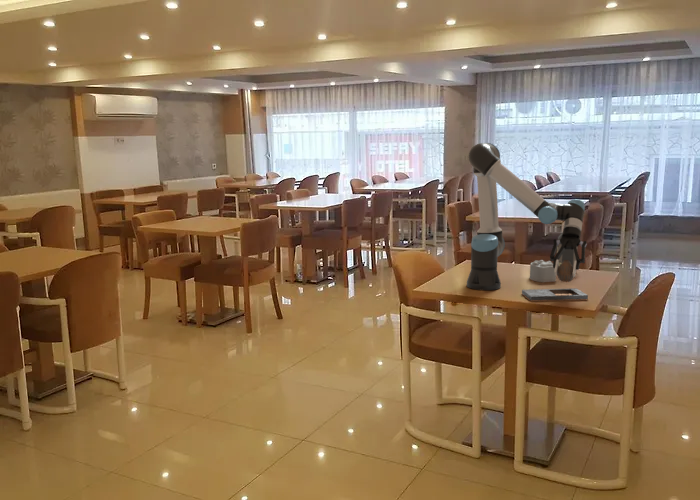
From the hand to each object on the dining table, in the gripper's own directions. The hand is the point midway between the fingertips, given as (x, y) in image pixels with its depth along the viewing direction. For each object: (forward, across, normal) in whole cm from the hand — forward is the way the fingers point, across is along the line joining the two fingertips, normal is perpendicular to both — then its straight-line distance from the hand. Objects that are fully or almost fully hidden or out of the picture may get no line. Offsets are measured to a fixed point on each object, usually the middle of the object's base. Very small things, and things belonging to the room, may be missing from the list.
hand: (564, 274), depth 259 cm
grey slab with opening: (+6, +4, -8) cm, 11 cm away
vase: (0, 0, -5) cm, 5 cm away
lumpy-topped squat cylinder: (-17, +16, -32) cm, 39 cm away
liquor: (-34, +8, -49) cm, 60 cm away
